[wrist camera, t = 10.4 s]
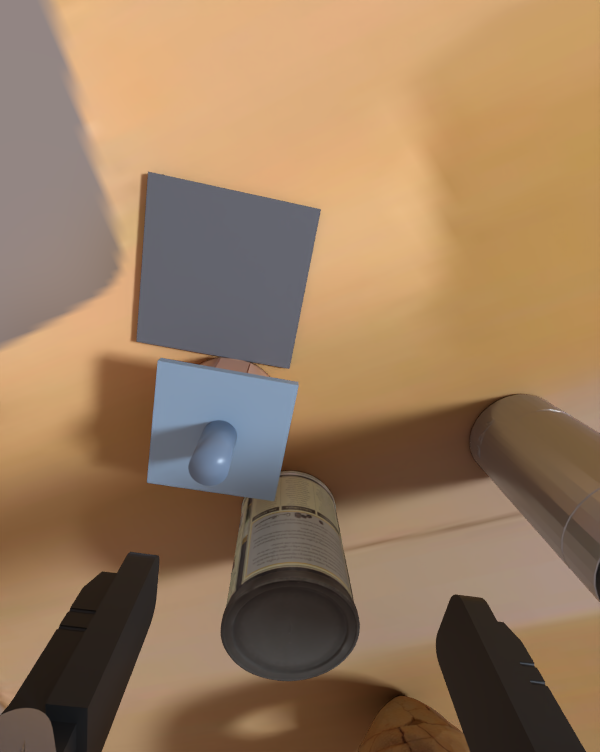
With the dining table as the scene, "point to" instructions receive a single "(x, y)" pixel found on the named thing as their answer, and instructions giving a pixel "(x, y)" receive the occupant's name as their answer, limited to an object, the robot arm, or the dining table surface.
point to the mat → (223, 271)
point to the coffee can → (290, 585)
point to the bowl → (412, 730)
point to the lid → (219, 429)
